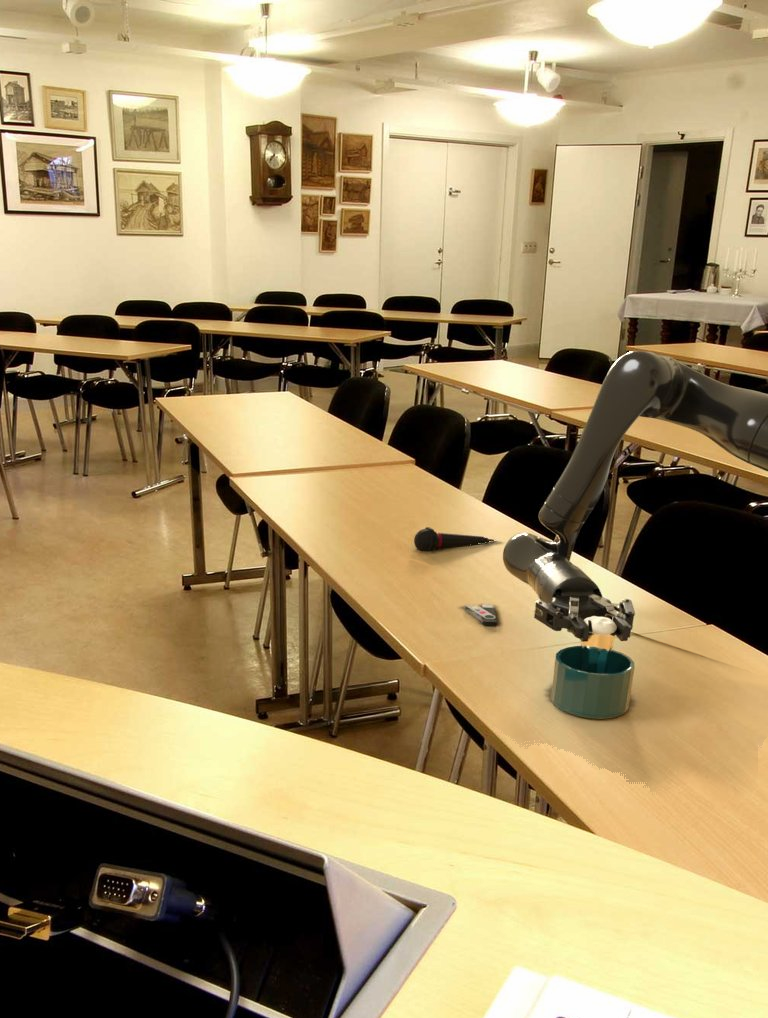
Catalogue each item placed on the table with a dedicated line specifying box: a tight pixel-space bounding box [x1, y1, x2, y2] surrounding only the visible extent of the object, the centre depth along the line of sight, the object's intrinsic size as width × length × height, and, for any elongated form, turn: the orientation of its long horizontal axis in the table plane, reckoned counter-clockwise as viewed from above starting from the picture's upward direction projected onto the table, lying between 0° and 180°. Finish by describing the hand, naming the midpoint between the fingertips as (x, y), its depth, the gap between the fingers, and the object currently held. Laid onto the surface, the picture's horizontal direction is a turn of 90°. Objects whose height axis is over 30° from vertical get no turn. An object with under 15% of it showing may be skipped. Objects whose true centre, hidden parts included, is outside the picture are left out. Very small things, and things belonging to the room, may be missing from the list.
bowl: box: [550, 645, 636, 720], centre depth 126 cm, size 10×10×6 cm
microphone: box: [413, 526, 495, 553], centre depth 197 cm, size 6×6×20 cm
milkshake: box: [580, 616, 617, 674], centre depth 125 cm, size 4×5×10 cm
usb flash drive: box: [463, 603, 498, 627], centre depth 159 cm, size 9×5×1 cm, turn 168°
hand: (606, 634), depth 121 cm, fingers closed on milkshake, 4 cm apart
